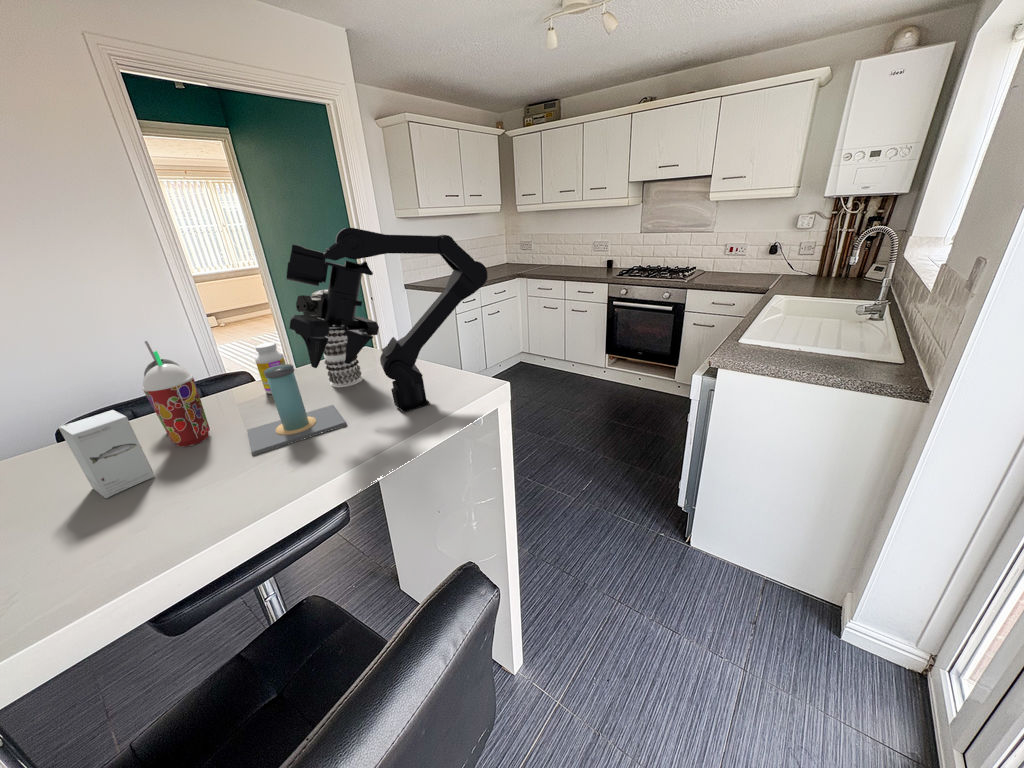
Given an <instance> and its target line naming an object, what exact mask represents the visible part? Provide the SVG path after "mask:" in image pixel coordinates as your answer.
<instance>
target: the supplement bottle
mask: <svg viewBox="0 0 1024 768" xmlns="http://www.w3.org/2000/svg"><path fill="white" fill-rule="evenodd" d="M255 350H256V352H257V353H258V354H257V355H256V357H255V358H254V359H255V360H254V361H255V364H256V367H257V371H258V373H259V377H260V380H261V382H262V387H263V390H264V391H265V393H267V394H268V395H270V394H271V395H272V392H271V389H270V386H269V383H268V380H267V378H266V377H265V375H264V371H265V370H266V369H268V368H271V367H274V366H278V365H284V364H287V363H286V360H285V356H284V354H283V353H282V352H281V351H279V350H277V343H276V342H273V341H272V342H264V343H261V344H256V346H255Z"/></svg>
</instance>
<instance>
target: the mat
mask: <svg viewBox="0 0 1024 768" xmlns="http://www.w3.org/2000/svg"><path fill="white" fill-rule="evenodd" d="M306 414H307V417H308V421H309V423H308V424H307V425H306V426H305V427H303V428H300V429H297V430H293V431H286V430H284V428H283V425H282V422H281V419H279V420H276V421H273V422H269V423H266V424H262V425H259V426H256V427H252V428H249V429H246V432H247V437H248V443H249V447H250V452H251V455H252V456H256V455H259V454H262V453H265V452H268V451H271V449H272V450H275V449H278V448H280V446H281V447H284V446H286V445H285V444H287V445H289V444H288V443H290V444H292V443H291V442H293V443H296V442H299V441H298V440H300V441H302V440H301V439H303V440H305V439H304V438H306V439H308V437H309V438H311V437H310V436H312V437H314V436H313V435H315V436H317V435H316V434H318V435H320V434H319V433H321V432H324V433H326V432H325V431H328V430H331V429H334V430H336V429H335V428H337V429H339V427H340V428H343V427H346V426H348V424H347V421H346V420H345V418H344V417H343V416H342V414H341V413H340V412H339V410H338V409H337V407H336V406H335V405H334V404H330V405H326V406H324V407H320V408H317V409H314V410H310V411H306ZM345 425H346V426H345ZM342 426H343V427H342ZM331 431H332V430H331ZM328 432H329V431H328ZM321 434H322V433H321ZM295 441H296V442H295ZM283 445H284V446H283ZM277 447H278V448H277ZM274 448H275V449H274ZM264 451H265V452H264ZM261 452H262V453H261Z"/></svg>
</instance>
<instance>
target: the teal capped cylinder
mask: <svg viewBox="0 0 1024 768" xmlns="http://www.w3.org/2000/svg"><path fill="white" fill-rule="evenodd" d="M264 375H265V377H266V378H267V380H268V383H269V386H270V389H271V392H272V394H271V396H272V398H273V402H274V404H275V407H276V411H277V414H278V416H279V420H281V422H282V425H283V428H284V430H286V431H293V430H297V429H300V428H303V427H305V426H306V425H307V424H308V423H309V421H308V417H307V414H306V412H307V411H306V407H305V405H304V402H303V397H302V394H301V391H300V388H299V385H298V382H297V379H296V375H295V369H294V364H290V363H286V364H284V365H278V366H274V367H271V368H268V369H266V370H265V371H264Z"/></svg>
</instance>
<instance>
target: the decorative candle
mask: <svg viewBox="0 0 1024 768" xmlns="http://www.w3.org/2000/svg"><path fill="white" fill-rule="evenodd" d="M323 293H328V289H321V290H320V289H319V290H316V291H314V292H312V293H311V295H310V297H311V299H312V300H321V295H322V294H323ZM319 319H320V318H319ZM321 320H324V319H321ZM332 326H335V325H332ZM341 326H344V325H341ZM325 337H326V338H329V339H328V342H327V344H326V347H325V350H324V352H323V357H324V364H325V365H326V366H325V369H326V370H327V376H328V381H329V382H330V386H331V387H332V388H346V387H350V386H355V385H357V384H359V383H360V382H362V380H363V377H362V371H361V365H358V364H359V360H358V355H357V356H356V357H355V358H354V360H353V361H352V362H351V364H347V363H346V362H345V359H346V348H347V340H348V338H347V335H346V333H345V331H344V330H329V333H328V334H327V335H326V336H325Z"/></svg>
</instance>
